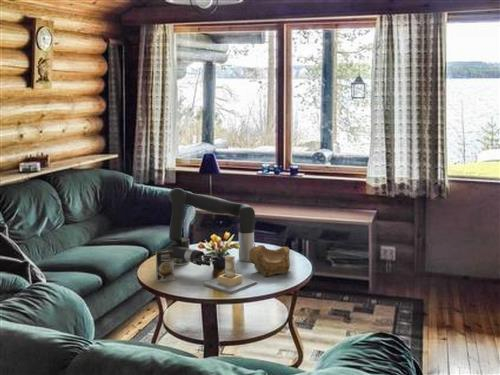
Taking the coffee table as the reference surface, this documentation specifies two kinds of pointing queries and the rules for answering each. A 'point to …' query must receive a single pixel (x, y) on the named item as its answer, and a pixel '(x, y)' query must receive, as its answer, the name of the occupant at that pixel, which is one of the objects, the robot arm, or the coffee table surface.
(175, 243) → the robot arm
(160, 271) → the coffee box
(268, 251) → the rough brown rock
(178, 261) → the coffee can
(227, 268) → the wooden peg
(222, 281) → the collar board
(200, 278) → the coffee table surface
